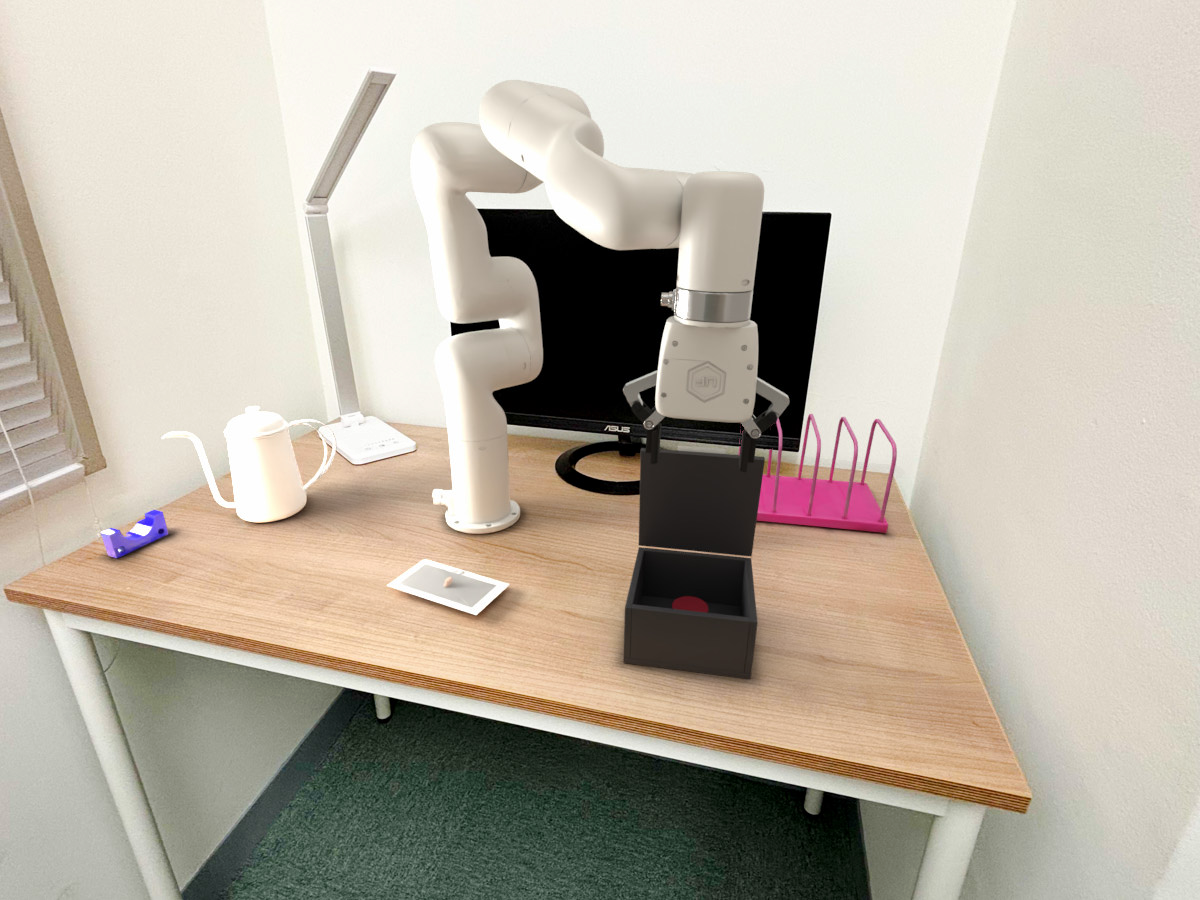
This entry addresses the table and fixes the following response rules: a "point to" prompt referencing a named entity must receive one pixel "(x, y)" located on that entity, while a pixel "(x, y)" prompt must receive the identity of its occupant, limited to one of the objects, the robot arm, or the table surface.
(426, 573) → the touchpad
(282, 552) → the table surface
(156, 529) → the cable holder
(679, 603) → the red cylinder
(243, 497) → the coffeepot
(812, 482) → the file sorter
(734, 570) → the dark grey box
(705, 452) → the lid
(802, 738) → the table surface
